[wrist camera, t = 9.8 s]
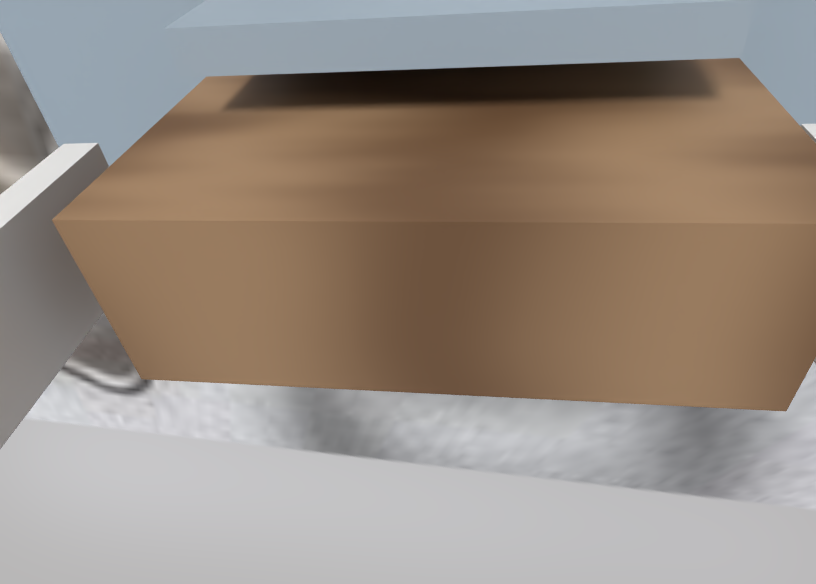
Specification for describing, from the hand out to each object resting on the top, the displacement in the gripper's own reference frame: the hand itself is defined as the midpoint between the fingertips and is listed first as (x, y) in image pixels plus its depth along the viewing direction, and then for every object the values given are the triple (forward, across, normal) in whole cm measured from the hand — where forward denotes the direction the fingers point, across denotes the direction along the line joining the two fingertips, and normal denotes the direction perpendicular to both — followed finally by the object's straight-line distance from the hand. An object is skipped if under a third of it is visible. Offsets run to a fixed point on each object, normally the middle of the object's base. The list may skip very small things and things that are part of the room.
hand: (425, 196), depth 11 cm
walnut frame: (+4, +1, 0) cm, 5 cm away
